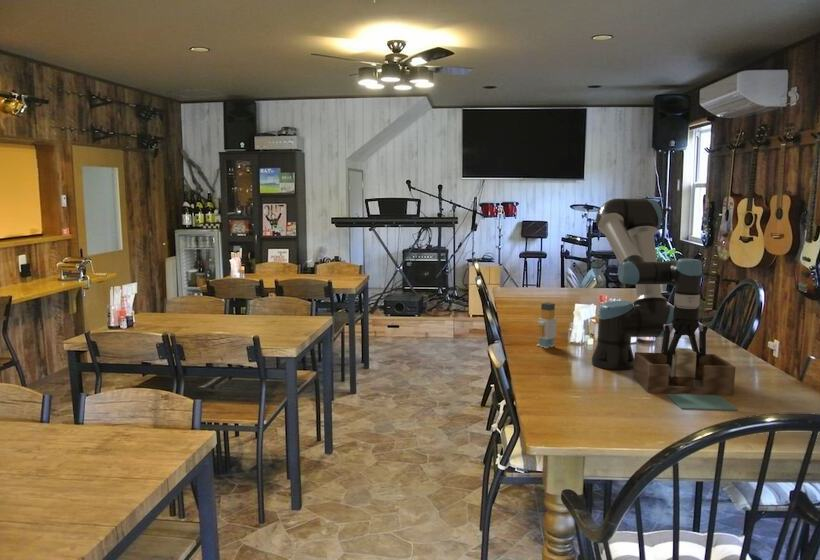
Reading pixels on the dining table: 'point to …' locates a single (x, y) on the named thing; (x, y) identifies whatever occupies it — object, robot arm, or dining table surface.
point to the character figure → (547, 325)
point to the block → (684, 362)
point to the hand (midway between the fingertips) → (681, 376)
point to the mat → (701, 402)
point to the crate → (711, 371)
